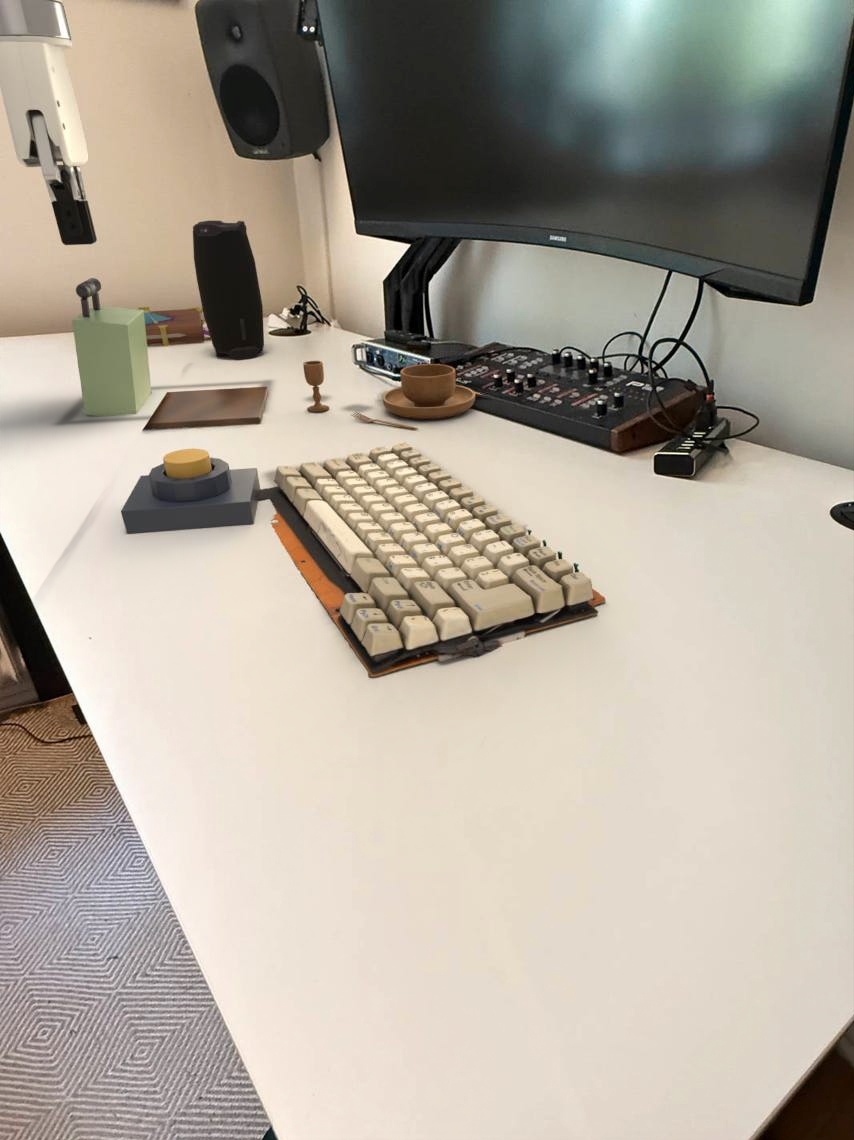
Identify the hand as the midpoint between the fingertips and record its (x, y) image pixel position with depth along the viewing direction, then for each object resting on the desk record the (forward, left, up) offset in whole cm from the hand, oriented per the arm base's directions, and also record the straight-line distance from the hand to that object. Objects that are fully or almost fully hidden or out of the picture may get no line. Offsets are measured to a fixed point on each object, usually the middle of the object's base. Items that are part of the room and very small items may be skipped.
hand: (80, 243), depth 85 cm
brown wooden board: (+4, +9, -21) cm, 23 cm away
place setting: (+34, +5, -21) cm, 40 cm away
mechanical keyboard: (+30, -38, -21) cm, 53 cm away
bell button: (+12, -26, -17) cm, 34 cm away
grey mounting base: (+12, -26, -21) cm, 35 cm away
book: (-6, +60, -21) cm, 63 cm away
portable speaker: (+10, +42, -21) cm, 47 cm away
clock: (-2, +9, -19) cm, 21 cm away
